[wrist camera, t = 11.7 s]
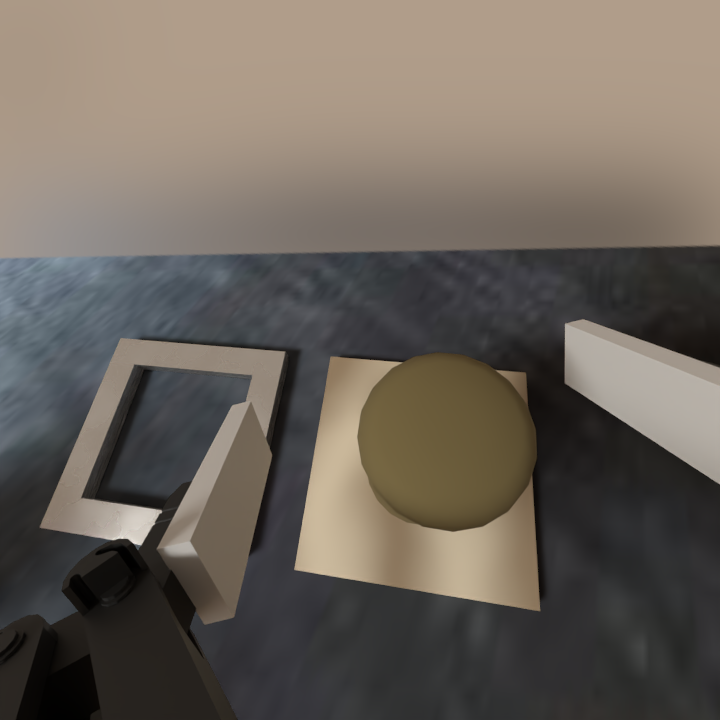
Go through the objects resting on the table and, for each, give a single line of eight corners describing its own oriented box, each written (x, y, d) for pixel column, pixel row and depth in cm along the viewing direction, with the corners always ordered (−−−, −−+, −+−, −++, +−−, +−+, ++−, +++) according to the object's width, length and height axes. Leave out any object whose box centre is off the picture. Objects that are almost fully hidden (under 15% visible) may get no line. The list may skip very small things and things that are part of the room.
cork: (500, 477, 18) (631, 447, 8) (413, 551, 17) (441, 622, 7) (426, 392, 21) (458, 286, 10) (345, 454, 20) (293, 404, 9)
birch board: (521, 377, 21) (525, 372, 20) (533, 606, 17) (540, 611, 16) (332, 361, 23) (330, 356, 22) (298, 567, 18) (294, 569, 18)
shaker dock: (289, 357, 23) (285, 351, 22) (245, 558, 19) (238, 561, 18) (130, 344, 25) (120, 338, 24) (55, 526, 20) (39, 527, 19)
